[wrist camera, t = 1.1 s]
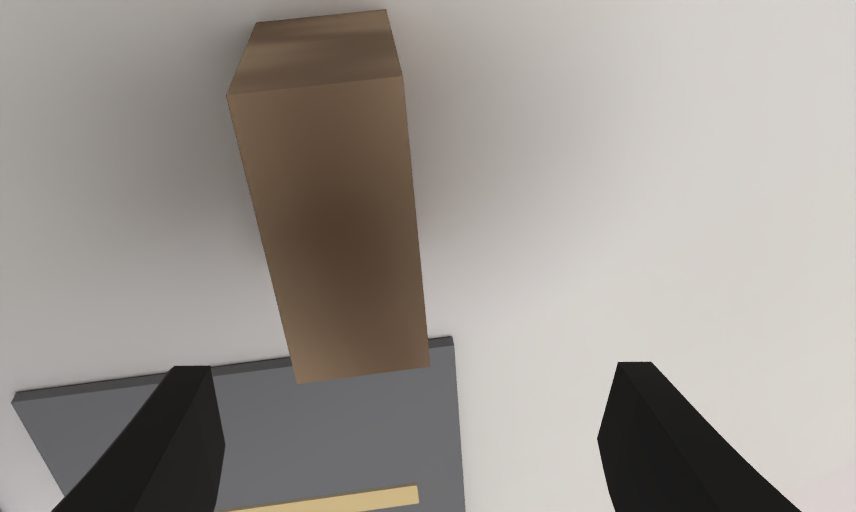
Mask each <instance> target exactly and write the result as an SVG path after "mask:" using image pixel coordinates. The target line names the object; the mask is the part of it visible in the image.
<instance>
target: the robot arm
mask: <svg viewBox="0 0 856 512" xmlns="http://www.w3.org/2000/svg"><path fill="white" fill-rule="evenodd" d="M597 440H598V445H599V450H600V455H601V460H602V464H603V469H604V473H605V478H606V482H607V486H608V490H609V494H610V497H611V500H612V503H613V506H614V509H615V512H801V511H800V510H799V509H798V508H797V507H795V506H794V505H793V504H792V503H791V502H790V501H789V500H788V499H787V498H785V497H784V496H783V495H782V494H781V493H780V492H779V491H778V490H777V489H776V488H774V487H773V486H772V485H771V484H770V483H769V482H768V481H767V480H766V479H765V478H764V477H762V476H761V475H760V474H759V473H758V472H757V471H756V470H755V469H754V468H753V467H752V466H751V465H750V464H749V463H748V462H747V461H746V460H745V459H744V458H743V457H742V456H741V455H740V454H739V453H738V452H737V451H736V450H735V449H734V448H733V447H732V446H731V445H730V444H729V443H728V442H727V441H726V440H725V439H724V438H723V437H722V436H721V435H720V434H719V433H718V432H717V431H716V430H715V429H714V428H713V427H712V426H711V425H710V424H709V423H708V422H707V421H706V420H705V419H704V418H703V417H702V416H701V414H700V413H699V412H698V411H697V410H696V409H695V408H694V407H693V406H692V405H691V404H690V403H689V402H688V401H687V400H686V398H685V397H684V396H683V395H682V394H681V393H680V392H679V391H678V390H677V389H676V388H675V387H674V386H673V385H672V383H671V382H670V381H669V380H668V379H667V378H666V377H665V376H664V375H663V374H662V373H661V372H660V371H659V369H658V368H657V367H656V366H655V365H654V364H653V363H652V362H618V364H617V368H616V372H615V375H614V379H613V383H612V386H611V390H610V394H609V397H608V401H607V405H606V408H605V412H604V416H603V419H602V423H601V427H600V430H599V434H598V438H597ZM225 446H226V445H225V439H224V434H223V429H222V424H221V419H220V413H219V408H218V403H217V398H216V393H215V387H214V382H213V377H212V372H211V367H210V366H174V367H173V368H172V369H171V370H169V371H168V373H167V374H166V375H165V377H164V378H163V379H162V381H161V382H160V383H159V385H158V386H157V387H156V389H155V390H154V391H153V393H152V394H151V395H150V396H149V398H148V399H147V400H146V402H145V403H144V404H143V406H142V407H141V408H140V409H139V411H138V412H137V413H136V414H135V416H134V417H133V418H132V419H131V421H130V422H129V423H128V424H127V426H126V427H125V428H124V429H123V431H122V432H121V433H120V434H119V436H118V437H117V438H116V439H115V440H114V441H113V443H112V444H111V445H110V446H109V447H108V449H107V450H106V451H105V452H104V453H103V455H102V456H101V457H100V458H99V459H98V461H97V462H96V463H95V464H94V465H93V466H92V468H91V469H90V470H89V471H88V472H87V473H86V474H85V476H84V477H83V478H82V479H81V480H80V481H79V482H78V483H77V484H76V485H75V486H74V487H73V489H72V490H71V491H70V492H69V493H68V494H67V495H66V496H65V497H64V498H63V499H62V500H61V502H60V503H59V504H58V505H57V506H56V507H55V508H54V509H53V510H52V511H51V512H214V509H215V505H216V502H217V496H218V490H219V484H220V478H221V472H222V466H223V459H224V452H225Z"/></svg>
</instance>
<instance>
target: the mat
mask: <svg viewBox="0 0 856 512" xmlns="http://www.w3.org/2000/svg"><path fill="white" fill-rule="evenodd" d="M428 345H429V356H430V366H431V367H424V368H416V369H409V370H401V371H393V372H386V373H378V374H370V375H363V376H355V377H347V378H340V379H332V380H324V381H317V382H309V383H302V384H297V382H296V378H295V374H294V370H293V366H292V362H291V358H283V359H275V360H267V361H260V362H252V363H244V364H236V365H228V366H221V367H213V368H211V372H212V377H213V382H214V387H215V393H216V398H217V403H218V408H219V413H220V419H221V424H222V429H223V434H224V439H225V445H226V446H225V452H224V459H223V466H222V472H221V478H220V484H219V490H218V496H217V502H216V505H215V509H214V512H465V499H464V484H463V469H462V455H461V440H460V426H459V411H458V396H457V382H456V367H455V352H454V343H453V338H452V337H446V338H438V339H431V340H428ZM166 374H167V373H166ZM166 374H158V375H151V376H143V377H135V378H127V379H120V380H112V381H104V382H96V383H88V384H81V385H73V386H65V387H57V388H50V389H42V390H34V391H26V392H18V393H16V395H15V396H14V398H13V400H12V402H11V404H12V405H13V407H14V409H15V411H16V412H17V414H18V416H19V418H20V419H21V421H22V423H23V425H24V426H25V428H26V430H27V432H28V433H29V435H30V437H31V439H32V440H33V442H34V444H35V446H36V447H37V449H38V451H39V453H40V454H41V456H42V458H43V460H44V461H45V463H46V465H47V467H48V468H49V470H50V472H51V474H52V475H53V477H54V479H55V481H56V482H57V484H58V486H59V488H60V489H61V491H62V493H63V495H64V496H66V495H67V494H68V493H69V492H70V491H71V490H72V489H73V487H74V486H75V485H76V484H77V483H78V482H79V481H80V480H81V479H82V478H83V477H84V476H85V474H86V473H87V472H88V471H89V470H90V469H91V468H92V466H93V465H94V464H95V463H96V462H97V461H98V459H99V458H100V457H101V456H102V455H103V453H104V452H105V451H106V450H107V449H108V447H109V446H110V445H111V444H112V443H113V441H114V440H115V439H116V438H117V437H118V436H119V434H120V433H121V432H122V431H123V429H124V428H125V427H126V426H127V424H128V423H129V422H130V421H131V419H132V418H133V417H134V416H135V414H136V413H137V412H138V411H139V409H140V408H141V407H142V406H143V404H144V403H145V402H146V400H147V399H148V398H149V396H150V395H151V394H152V393H153V391H154V390H155V389H156V387H157V386H158V385H159V383H160V382H161V381H162V379H163V378H164V377H165V375H166Z"/></svg>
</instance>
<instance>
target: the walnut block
mask: <svg viewBox="0 0 856 512" xmlns="http://www.w3.org/2000/svg"><path fill="white" fill-rule="evenodd" d="M226 97H227V101H228V105H229V109H230V113H231V117H232V121H233V125H234V129H235V134H236V138H237V142H238V146H239V150H240V154H241V158H242V162H243V166H244V170H245V174H246V178H247V182H248V187H249V191H250V195H251V199H252V203H253V207H254V211H255V215H256V219H257V223H258V227H259V231H260V235H261V239H262V244H263V248H264V252H265V256H266V260H267V264H268V268H269V272H270V276H271V280H272V284H273V288H274V292H275V296H276V301H277V305H278V309H279V313H280V317H281V321H282V325H283V329H284V333H285V337H286V341H287V345H288V349H289V354H290V358H291V362H292V366H293V370H294V374H295V378H296V382H297V384H302V383H309V382H317V381H324V380H332V379H340V378H347V377H355V376H363V375H370V374H378V373H386V372H393V371H401V370H409V369H416V368H424V367H431V366H430V356H429V345H428V335H427V325H426V314H425V304H424V293H423V283H422V272H421V262H420V252H419V241H418V231H417V220H416V210H415V199H414V189H413V179H412V168H411V158H410V147H409V137H408V127H407V116H406V106H405V95H404V85H403V75H402V71H401V67H400V63H399V59H398V55H397V51H396V47H395V43H394V39H393V35H392V31H391V27H390V23H389V19H388V15H387V11H386V9H385V10H375V11H365V12H355V13H346V14H336V15H326V16H317V17H307V18H297V19H287V20H278V21H268V22H258V23H256V25H255V27H254V30H253V32H252V34H251V37H250V39H249V42H248V44H247V46H246V49H245V51H244V54H243V56H242V58H241V61H240V63H239V66H238V68H237V70H236V73H235V75H234V77H233V80H232V82H231V85H230V87H229V89H228V92H227V94H226Z"/></svg>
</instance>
